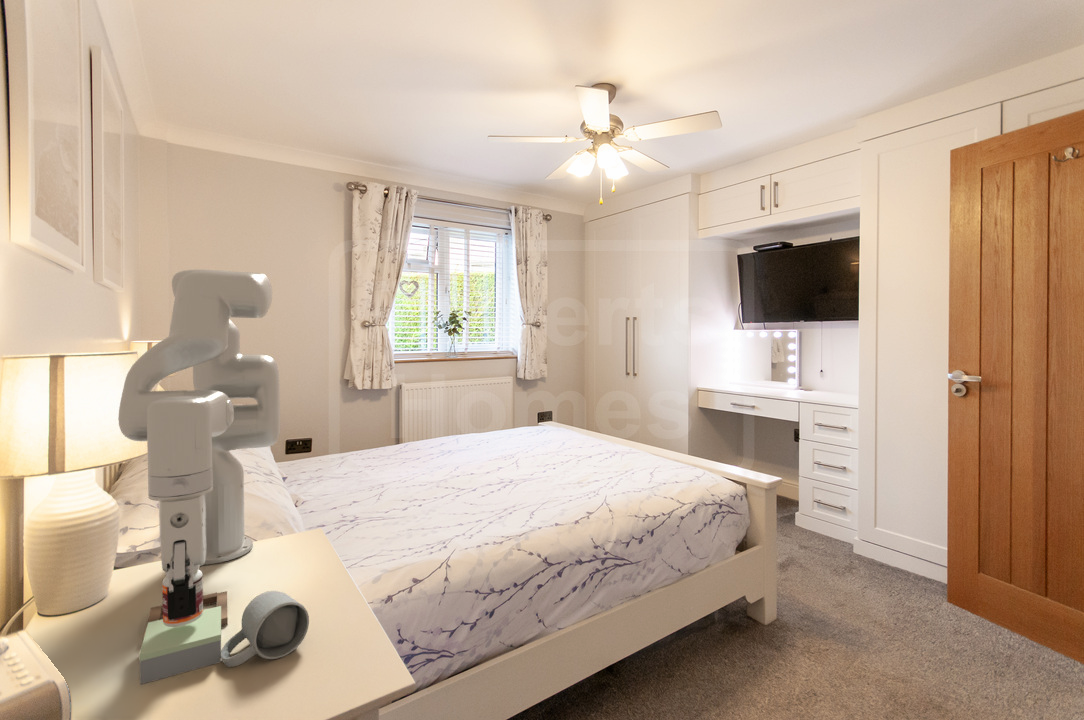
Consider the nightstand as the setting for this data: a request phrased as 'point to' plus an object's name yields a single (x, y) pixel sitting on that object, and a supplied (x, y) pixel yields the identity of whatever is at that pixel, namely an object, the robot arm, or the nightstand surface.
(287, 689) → the nightstand surface
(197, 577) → the pill bottle
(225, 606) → the base
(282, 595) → the ceramic mug
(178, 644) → the green square block
